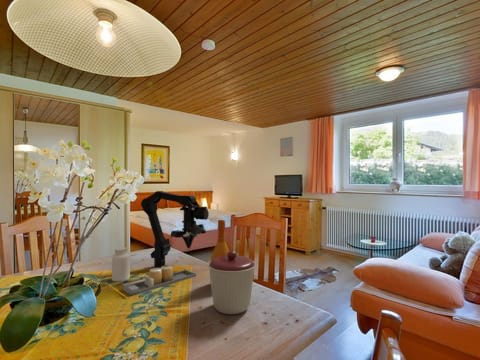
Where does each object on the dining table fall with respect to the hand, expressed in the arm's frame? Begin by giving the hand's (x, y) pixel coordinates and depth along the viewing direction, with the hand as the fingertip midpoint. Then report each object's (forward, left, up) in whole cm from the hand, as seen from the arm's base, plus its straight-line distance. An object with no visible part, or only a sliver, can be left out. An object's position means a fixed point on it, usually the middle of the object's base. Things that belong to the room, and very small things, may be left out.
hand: (188, 248), depth 139 cm
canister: (+46, -13, -12) cm, 49 cm away
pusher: (+6, -30, -11) cm, 33 cm away
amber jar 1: (+6, -22, -11) cm, 25 cm away
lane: (+6, -19, -12) cm, 23 cm away
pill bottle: (-13, -30, -12) cm, 35 cm away
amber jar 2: (+6, -16, -11) cm, 21 cm away
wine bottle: (+28, -2, -12) cm, 31 cm away
